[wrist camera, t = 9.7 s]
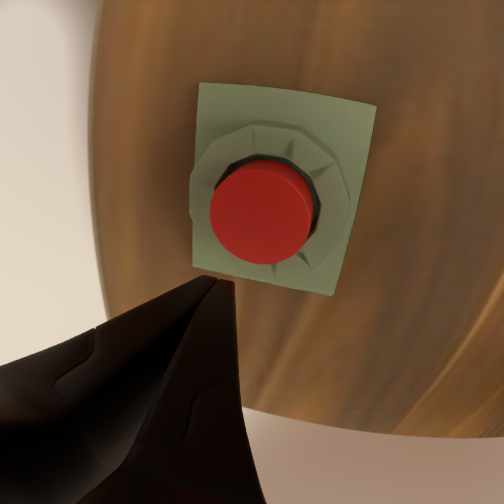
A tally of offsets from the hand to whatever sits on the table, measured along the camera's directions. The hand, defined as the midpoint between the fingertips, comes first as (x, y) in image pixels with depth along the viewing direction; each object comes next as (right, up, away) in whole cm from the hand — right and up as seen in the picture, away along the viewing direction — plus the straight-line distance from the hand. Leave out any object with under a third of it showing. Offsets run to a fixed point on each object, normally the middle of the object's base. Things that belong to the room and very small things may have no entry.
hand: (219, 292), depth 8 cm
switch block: (+2, +4, +7) cm, 9 cm away
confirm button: (+1, +3, +6) cm, 7 cm away
